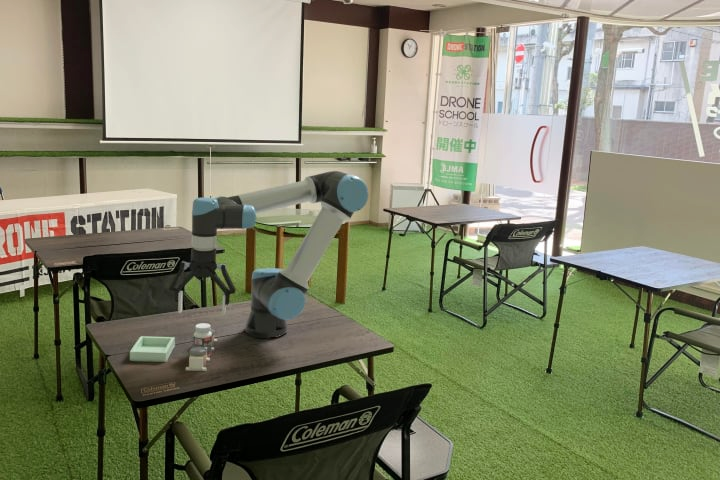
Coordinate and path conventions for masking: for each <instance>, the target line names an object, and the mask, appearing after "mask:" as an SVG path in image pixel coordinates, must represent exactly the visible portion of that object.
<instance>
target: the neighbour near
mask: <svg viewBox="0 0 720 480" xmlns="http://www.w3.org/2000/svg"><path fill="white" fill-rule="evenodd" d="M189 357H203V367H207V362H208V361H207V358H208V357H207V349H206V348H204V347H194V348H193V347H191V348H190V349H189Z"/></svg>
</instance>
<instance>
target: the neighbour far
mask: <svg viewBox="0 0 720 480" xmlns="http://www.w3.org/2000/svg"><path fill="white" fill-rule="evenodd" d="M210 332H211V333H212V347H214V346H215V342H214V339H215V332H216V331H215V329H213V328H211V329H210Z"/></svg>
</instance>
